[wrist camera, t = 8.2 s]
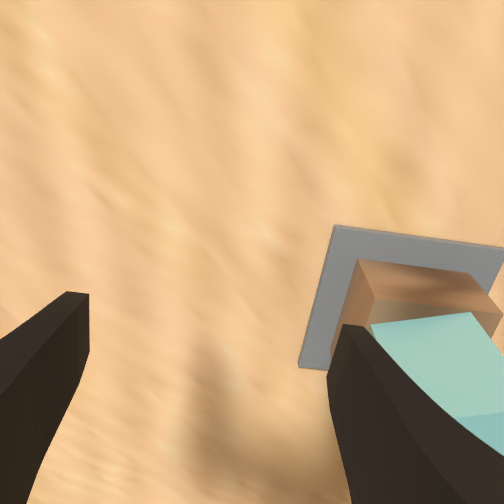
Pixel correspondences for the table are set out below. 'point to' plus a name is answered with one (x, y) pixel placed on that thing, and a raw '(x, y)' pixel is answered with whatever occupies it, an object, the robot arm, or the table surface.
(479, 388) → the teal block
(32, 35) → the table surface
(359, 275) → the walnut block
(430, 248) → the mat
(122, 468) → the table surface
